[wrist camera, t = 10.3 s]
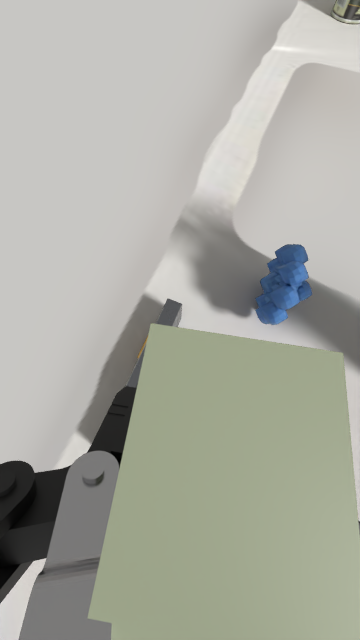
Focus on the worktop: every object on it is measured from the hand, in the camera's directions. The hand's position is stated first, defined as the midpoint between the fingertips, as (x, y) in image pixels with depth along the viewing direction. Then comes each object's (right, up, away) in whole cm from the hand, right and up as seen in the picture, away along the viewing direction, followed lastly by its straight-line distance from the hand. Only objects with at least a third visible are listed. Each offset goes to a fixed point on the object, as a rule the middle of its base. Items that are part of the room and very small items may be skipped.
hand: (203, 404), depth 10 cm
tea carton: (0, -4, +4) cm, 5 cm away
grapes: (+13, +5, +27) cm, 30 cm away
